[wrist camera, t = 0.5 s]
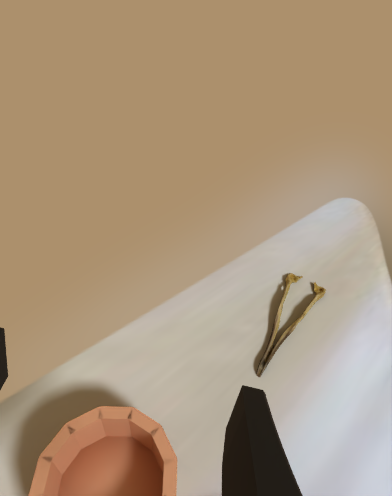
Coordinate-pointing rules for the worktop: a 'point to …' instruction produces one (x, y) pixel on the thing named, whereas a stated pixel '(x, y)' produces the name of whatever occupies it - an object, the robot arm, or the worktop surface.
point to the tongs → (272, 349)
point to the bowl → (107, 457)
